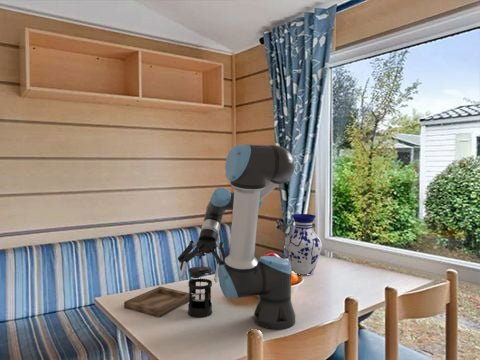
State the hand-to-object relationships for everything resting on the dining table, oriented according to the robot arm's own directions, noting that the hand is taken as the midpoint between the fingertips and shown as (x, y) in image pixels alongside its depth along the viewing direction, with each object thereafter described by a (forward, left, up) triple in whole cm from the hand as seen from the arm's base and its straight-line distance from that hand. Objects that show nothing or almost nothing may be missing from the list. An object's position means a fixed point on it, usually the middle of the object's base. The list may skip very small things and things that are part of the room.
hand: (198, 279), depth 148 cm
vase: (-16, -70, -13) cm, 73 cm away
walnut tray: (+19, +1, -13) cm, 23 cm away
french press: (0, 0, -13) cm, 13 cm away
